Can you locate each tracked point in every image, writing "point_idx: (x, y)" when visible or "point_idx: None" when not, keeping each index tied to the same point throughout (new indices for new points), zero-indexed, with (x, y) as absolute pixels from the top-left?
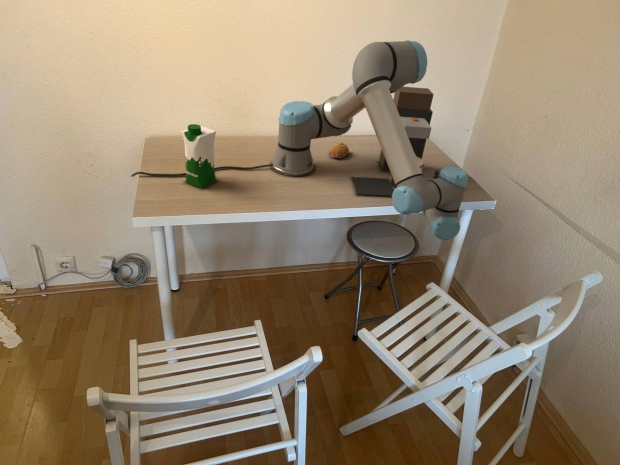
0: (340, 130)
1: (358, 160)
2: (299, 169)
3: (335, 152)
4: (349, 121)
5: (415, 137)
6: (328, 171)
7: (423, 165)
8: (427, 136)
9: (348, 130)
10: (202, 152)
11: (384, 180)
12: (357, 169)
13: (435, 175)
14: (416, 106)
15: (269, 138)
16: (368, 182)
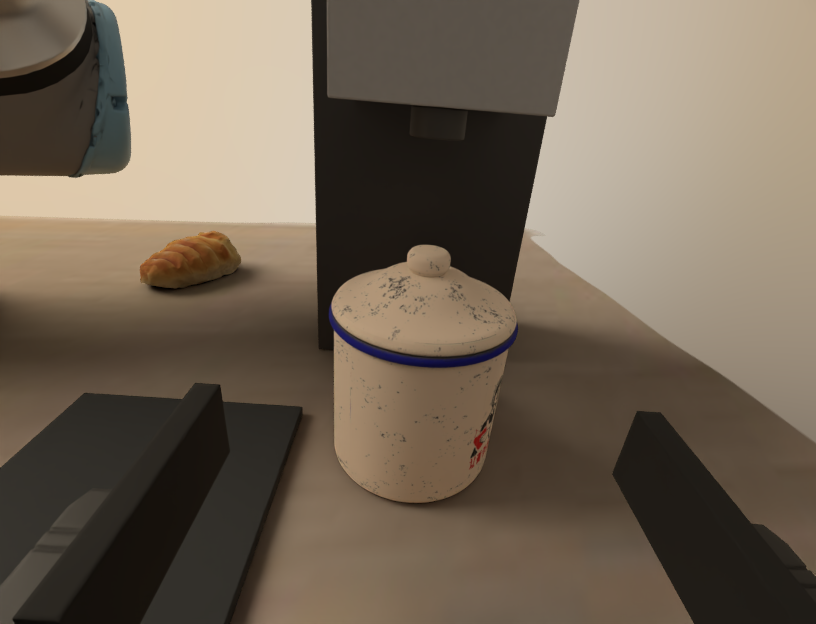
0: (1, 114)
1: (251, 297)
2: None
3: (152, 263)
4: (15, 40)
5: (435, 100)
6: (9, 352)
7: (512, 340)
8: (542, 91)
9: (120, 141)
10: None
11: (268, 423)
12: (195, 340)
13: (642, 472)
14: None
15: (19, 223)
16: (133, 446)
